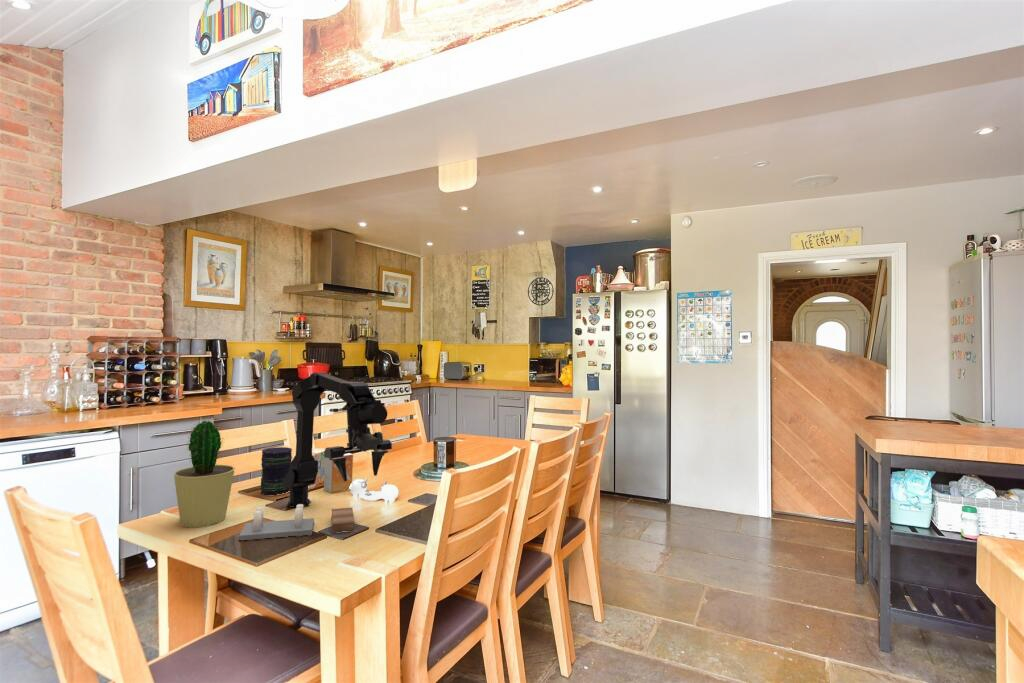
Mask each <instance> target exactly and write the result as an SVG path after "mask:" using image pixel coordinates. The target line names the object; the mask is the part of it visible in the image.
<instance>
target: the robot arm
mask: <svg viewBox="0 0 1024 683" xmlns="http://www.w3.org/2000/svg"><path fill="white" fill-rule="evenodd" d="M326 390H328V391H331V392H333V393H335V394H337V395H338V396H339V397H338V398H340V399H341V400H342V401H344V402H345V403H346V404H345V405H343V407H342V408H341V410H342V411H343V412H344V411H346V422H347V423H346V424H347V428H346V429H345V432H346V434H347V438H348V440H347V441H348V442H347V443H346V447H344V446H343V445H342V446H340V445H339V446H337V445H336V446H329V447H325V448H324V449H325V451H324V458H329V460H333V462H334V463H335V465H336V466H337V468H338V470H339V472H340V474H341V476H342V478H343V480H344V481H347V473H346V465H345V462H346V458H345V457H344V454H347V453H351V454H354V453H359V452H368V451H371V460H372V472H373V476H377V475H378V472H379V469H380V464H381V462H382V459H383V457H384V456H385V454H387V453H388V452H389V450H392V449H393V443H392V441H391V440H390V439H384V436H383V432H381V431H376V432H374V433H372V432H371V429H370V426H369V425H379V424H380V425H381V424H383V423H385V422H386V420H387V417H388V410H387V408H386V406H385V405H384V404H382V400H381V399H376V397H375V396H374V394H373V393H372V391H371V389H370V387H369V384H367V383H366V382H362V381H347V380H346V379H342V378H339V377H336V376H333V375H331V374H329V373H328V372H321V371H320V372H313V373H310V375H309V376H308V377H307V378H305V379H302V380H300V381H299V382H298V383H297V384H296V385H295V386H293V387H292V390H291V395H292V396H291V397H292V404H293V405H294V407H295V409H296V411H297V421H296V438H295V439H296V443H295V444H296V445H295V446H296V447H295V456H294V457H292V460H291V463H290V468H289V472H288V473H287V475H286V476H285V478H284V479H283V487H286V488H289V489H290V492H289V493H288V494H289V499H288V502H287V504H286V508H291V507H290V506H296V505H298V504H303V507H309V506H310V502H311V499H309V488H308V485H310V484H315V480H316V476H317V473H318V461H317V460H315V459H314V457H313V456H312V449H313V443H314V442H313V440H314V421H315V420H314V416H315V410H316V408H317V407H318V406H319V404H320V402H321V396H322V395H323V394H324V392H326Z"/></svg>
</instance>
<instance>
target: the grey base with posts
mask: <svg viewBox="0 0 1024 683" xmlns="http://www.w3.org/2000/svg"><path fill="white" fill-rule="evenodd" d="M314 525H315V518H314V517H311V518H304V506H303V504H298V505H296V507H295V509H294V519H285V520H269V521H264V506H258V507H256V509H255V511H254V512H253V522H246V523H245V524H244V526H243V528H242V530H241V531H240V533H239V535H238V541H239V540H246V539H261V538H273V539H275V538H274V537H285V538H289V537H288V536H296V537H304V536H303V535H308V536H313V530H314ZM261 540H262V539H261Z"/></svg>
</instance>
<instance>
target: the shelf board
mask: <svg viewBox="0 0 1024 683" xmlns="http://www.w3.org/2000/svg"><path fill="white" fill-rule="evenodd" d="M355 523H356V522H355V515H354V510H353V507H343V508H342V507H341V508H340V507H339V508H331V534H332V533H335V534H337V533H336V532H342V531H353V530H355V528H356V527H355ZM355 531H356V530H355Z"/></svg>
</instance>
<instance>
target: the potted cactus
mask: <svg viewBox="0 0 1024 683" xmlns="http://www.w3.org/2000/svg"><path fill="white" fill-rule="evenodd" d="M218 429H219V427H218V424H216V422H215V420H214V421H210V420H202V421H200V422H198V423H196V424H195V426H194V425H192V427H191V432H190V436H189V441H187V445H188V449H187V452H190V459H189V462H191V466H190V467H186V468H182V469H178V470H176V471H174V473H173V475H174V486H175V492H176V499H177V506H178V507H177V508H178V514H179V521H180V522H179V523H180V526H182V527H185V528H201V526H204V527H208V526H207V525H209V526H212V525H211V524H213V525H216V524H215V523H217V524H219V523H221V522H220V521H222V520H223V521H224V520H225V519H226V517H227V512H228V505H229V502H230V500H229V499H230V496H231V490H232V485H233V479H234V476H235V474H234V473H235V469H236V467H235V466H233V465H229V464H217V461H218V460H220V455H219V456H218V454H221V450H220V449H222V448H223V446H224V439H223V437H221V432H220V430H218ZM223 521H222V522H223ZM218 522H219V523H218Z"/></svg>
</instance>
